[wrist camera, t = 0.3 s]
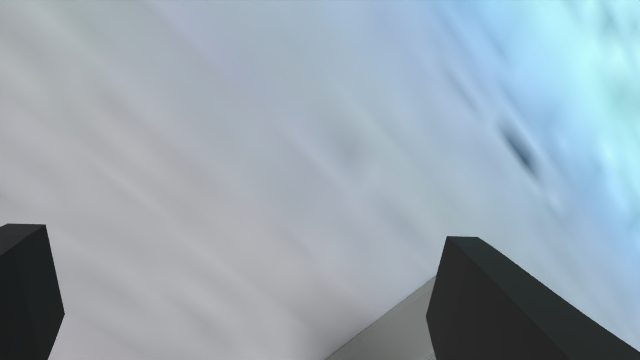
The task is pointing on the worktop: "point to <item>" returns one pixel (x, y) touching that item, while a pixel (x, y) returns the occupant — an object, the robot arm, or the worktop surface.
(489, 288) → the robot arm
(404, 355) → the mat
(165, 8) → the worktop surface
